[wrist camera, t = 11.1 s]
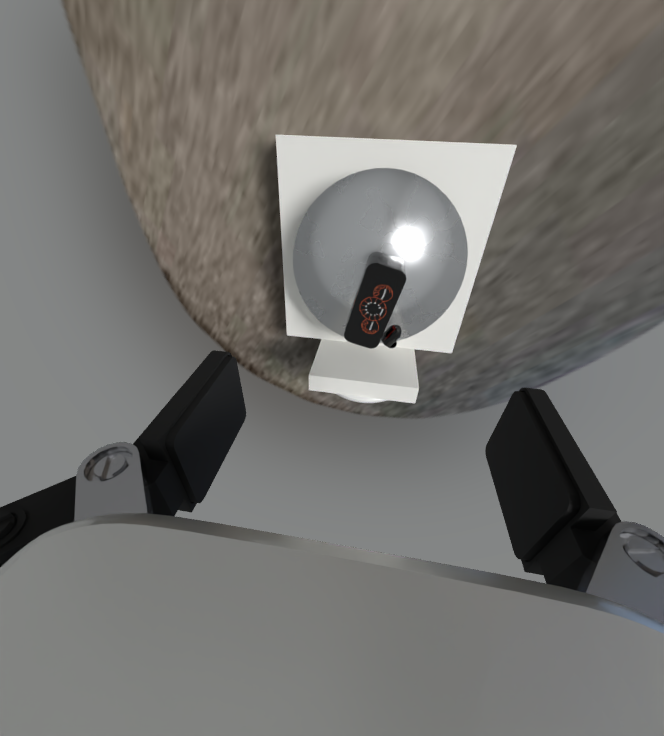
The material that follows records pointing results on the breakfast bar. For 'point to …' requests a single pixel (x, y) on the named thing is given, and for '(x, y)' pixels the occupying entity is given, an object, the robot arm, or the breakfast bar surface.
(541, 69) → the breakfast bar surface
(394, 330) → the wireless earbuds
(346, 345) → the kitchen scale
